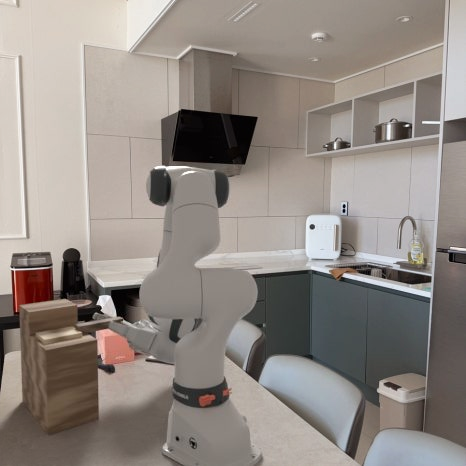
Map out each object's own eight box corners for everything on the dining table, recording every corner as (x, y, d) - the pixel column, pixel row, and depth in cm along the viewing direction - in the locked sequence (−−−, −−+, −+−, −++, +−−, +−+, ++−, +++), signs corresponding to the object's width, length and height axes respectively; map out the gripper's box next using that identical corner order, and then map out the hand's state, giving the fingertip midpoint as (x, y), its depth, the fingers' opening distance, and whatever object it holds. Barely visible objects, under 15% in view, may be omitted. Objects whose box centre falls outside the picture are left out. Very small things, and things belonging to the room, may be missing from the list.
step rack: (98, 419, 110) (96, 315, 108) (48, 435, 103) (45, 324, 100) (67, 389, 127) (65, 298, 125) (22, 401, 120) (19, 305, 117)
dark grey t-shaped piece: (93, 381, 134) (92, 372, 134) (66, 368, 144) (66, 360, 143) (132, 367, 145) (132, 359, 145) (105, 357, 155) (105, 349, 154)
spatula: (115, 321, 124) (115, 314, 124) (127, 327, 118) (127, 320, 118) (35, 336, 110) (35, 328, 110) (44, 344, 105) (44, 335, 105)
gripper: (131, 317, 134) (91, 301, 126) (166, 334, 119) (124, 316, 110) (121, 337, 133) (81, 322, 125) (156, 357, 117) (112, 340, 109)
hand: (101, 319), depth 117 cm, fingers open, 8 cm apart
